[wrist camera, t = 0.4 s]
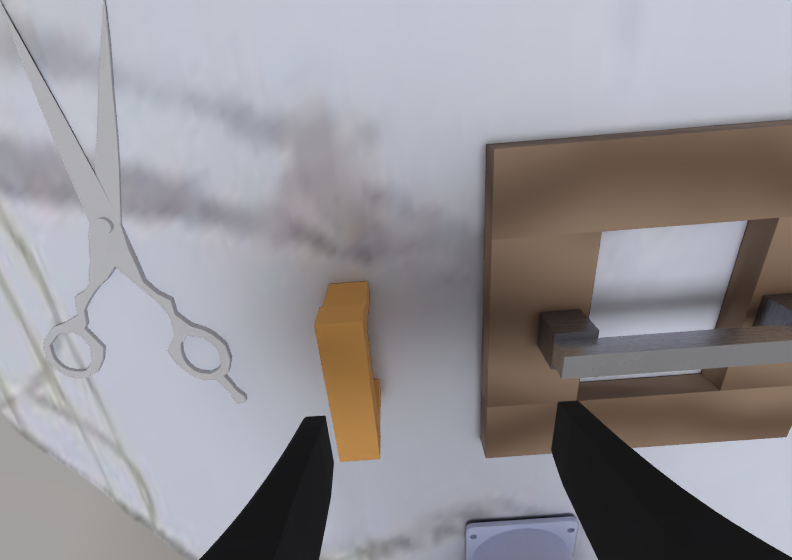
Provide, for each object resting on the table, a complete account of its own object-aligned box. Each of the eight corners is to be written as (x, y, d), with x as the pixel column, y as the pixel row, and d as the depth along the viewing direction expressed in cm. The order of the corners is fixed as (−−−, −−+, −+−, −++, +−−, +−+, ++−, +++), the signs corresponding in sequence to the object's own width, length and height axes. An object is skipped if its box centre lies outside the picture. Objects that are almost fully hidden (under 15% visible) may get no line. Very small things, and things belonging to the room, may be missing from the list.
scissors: (61, 398, 24) (-108, -22, 15) (71, 389, 24) (-86, -17, 16) (246, 403, 24) (186, -4, 15) (249, 394, 25) (195, 0, 16)
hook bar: (790, 326, 21) (855, 364, 18) (536, 345, 21) (560, 386, 18) (804, 292, 20) (874, 326, 17) (539, 311, 20) (565, 349, 17)
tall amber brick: (381, 396, 24) (380, 458, 20) (347, 399, 24) (340, 461, 20) (367, 275, 21) (362, 321, 17) (328, 278, 21) (314, 325, 17)
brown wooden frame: (765, 418, 26) (786, 436, 24) (480, 438, 26) (485, 457, 24) (895, 111, 18) (936, 113, 16) (486, 144, 18) (494, 149, 17)
